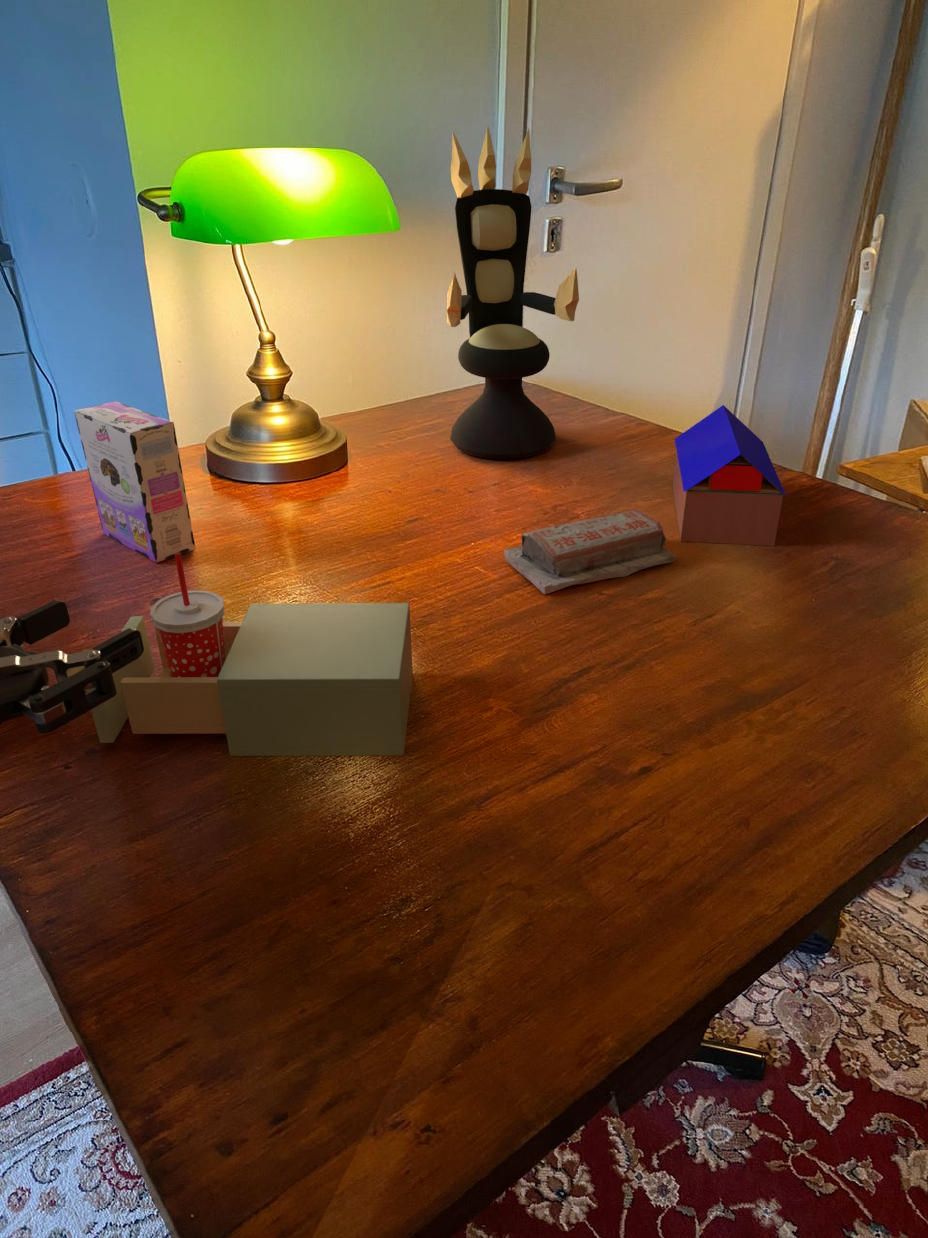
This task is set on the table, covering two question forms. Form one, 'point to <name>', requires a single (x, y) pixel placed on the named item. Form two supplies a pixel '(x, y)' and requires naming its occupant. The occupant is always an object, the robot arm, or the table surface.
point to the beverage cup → (191, 630)
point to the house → (725, 484)
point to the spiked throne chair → (500, 309)
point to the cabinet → (318, 680)
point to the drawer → (160, 695)
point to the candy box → (136, 479)
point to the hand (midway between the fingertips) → (101, 624)
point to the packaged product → (590, 550)
